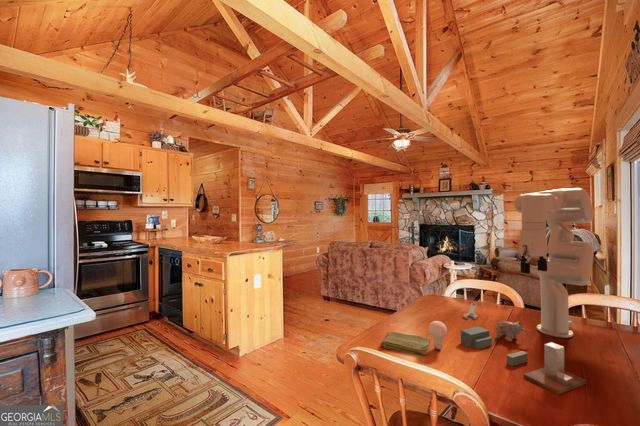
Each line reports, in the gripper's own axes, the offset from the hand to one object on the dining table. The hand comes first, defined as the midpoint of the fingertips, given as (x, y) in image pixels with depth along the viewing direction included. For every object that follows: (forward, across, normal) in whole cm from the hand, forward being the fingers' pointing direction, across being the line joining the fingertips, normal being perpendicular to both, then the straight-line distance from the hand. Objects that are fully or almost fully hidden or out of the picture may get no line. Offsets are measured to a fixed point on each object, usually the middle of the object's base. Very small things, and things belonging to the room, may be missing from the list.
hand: (533, 271), depth 114 cm
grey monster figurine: (+31, -2, -10) cm, 32 cm away
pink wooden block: (+29, +14, +16) cm, 36 cm away
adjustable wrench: (+31, -15, -40) cm, 53 cm away
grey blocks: (+30, +14, -7) cm, 34 cm away
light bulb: (+31, +32, -16) cm, 47 cm away
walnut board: (+30, +14, +15) cm, 37 cm away
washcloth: (+31, +41, -24) cm, 57 cm away
